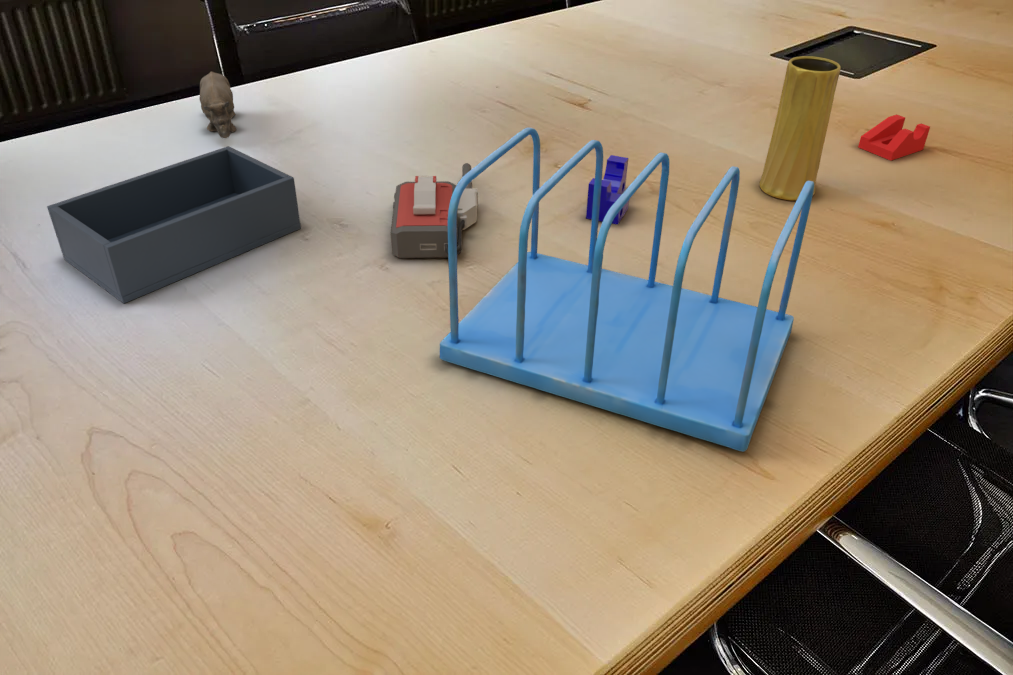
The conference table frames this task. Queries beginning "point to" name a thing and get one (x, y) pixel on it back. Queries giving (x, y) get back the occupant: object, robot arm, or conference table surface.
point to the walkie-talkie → (429, 216)
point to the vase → (800, 126)
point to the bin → (174, 221)
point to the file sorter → (627, 319)
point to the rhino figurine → (217, 103)
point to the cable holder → (610, 188)
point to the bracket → (894, 138)
